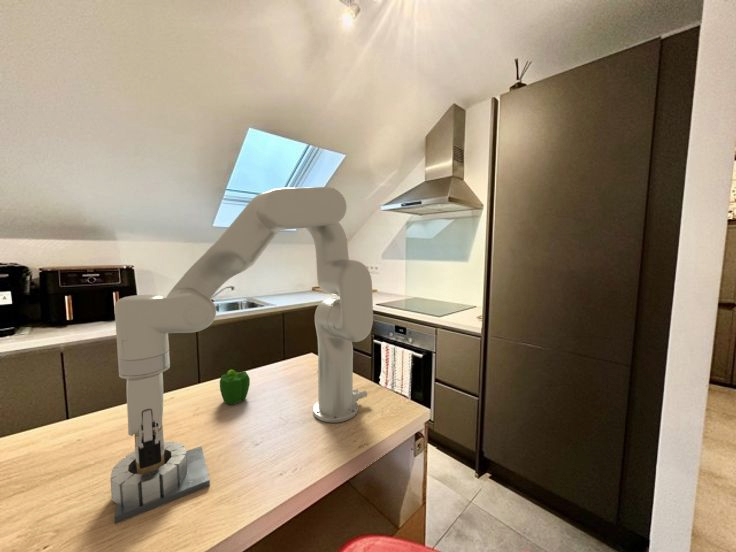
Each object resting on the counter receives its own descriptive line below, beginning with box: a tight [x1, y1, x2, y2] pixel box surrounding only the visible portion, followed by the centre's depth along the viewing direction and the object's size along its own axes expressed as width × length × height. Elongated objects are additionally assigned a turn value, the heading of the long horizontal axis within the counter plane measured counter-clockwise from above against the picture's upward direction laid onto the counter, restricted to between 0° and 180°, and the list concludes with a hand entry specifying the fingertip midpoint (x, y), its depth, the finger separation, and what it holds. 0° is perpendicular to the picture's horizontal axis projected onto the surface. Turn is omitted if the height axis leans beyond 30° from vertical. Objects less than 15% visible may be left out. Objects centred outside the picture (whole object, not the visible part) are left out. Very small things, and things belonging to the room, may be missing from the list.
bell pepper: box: [219, 369, 251, 406], centre depth 90 cm, size 8×8×10 cm
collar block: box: [110, 441, 211, 524], centre depth 58 cm, size 15×12×5 cm
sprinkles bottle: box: [134, 409, 165, 474], centre depth 57 cm, size 5×5×13 cm
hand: (150, 455), depth 57 cm, fingers closed on sprinkles bottle, 4 cm apart
